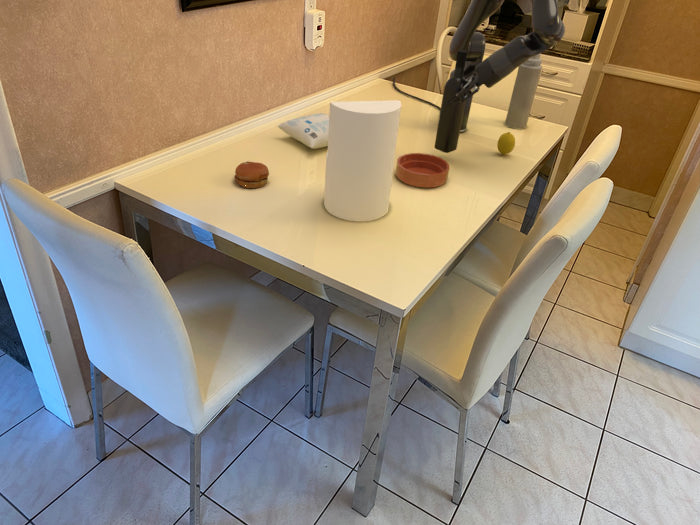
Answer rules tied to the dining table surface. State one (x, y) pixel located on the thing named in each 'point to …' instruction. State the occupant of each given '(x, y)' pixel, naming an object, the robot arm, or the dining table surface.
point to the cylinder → (360, 158)
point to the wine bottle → (453, 116)
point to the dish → (422, 170)
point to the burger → (251, 174)
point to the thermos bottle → (523, 93)
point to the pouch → (308, 129)
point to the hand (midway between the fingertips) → (448, 102)
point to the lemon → (506, 143)
